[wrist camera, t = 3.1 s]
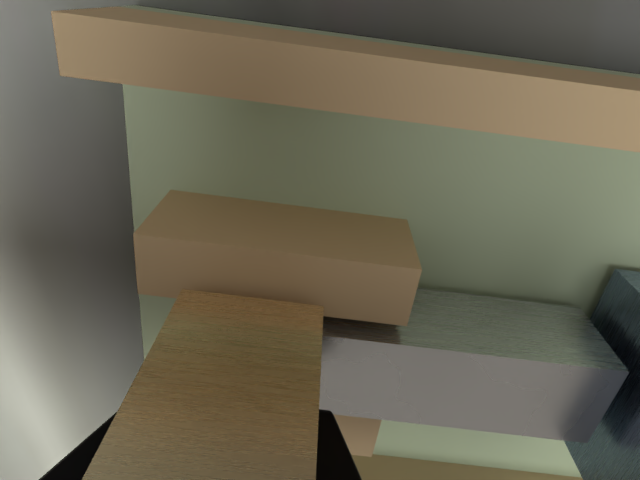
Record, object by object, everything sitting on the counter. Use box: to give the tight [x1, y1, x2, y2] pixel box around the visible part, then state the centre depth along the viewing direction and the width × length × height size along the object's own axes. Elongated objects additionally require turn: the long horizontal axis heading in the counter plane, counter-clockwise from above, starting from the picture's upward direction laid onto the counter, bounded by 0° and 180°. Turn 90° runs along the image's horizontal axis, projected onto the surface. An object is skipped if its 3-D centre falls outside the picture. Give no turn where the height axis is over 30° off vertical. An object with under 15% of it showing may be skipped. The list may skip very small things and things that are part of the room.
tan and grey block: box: [82, 269, 640, 480], centre depth 9 cm, size 5×12×8 cm, turn 83°
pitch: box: [51, 5, 640, 480], centre depth 13 cm, size 14×27×4 cm, turn 83°
